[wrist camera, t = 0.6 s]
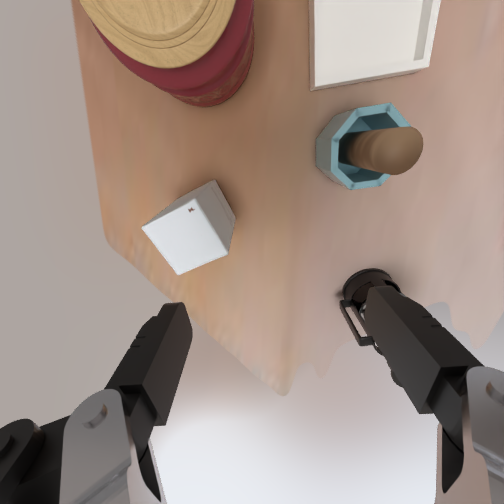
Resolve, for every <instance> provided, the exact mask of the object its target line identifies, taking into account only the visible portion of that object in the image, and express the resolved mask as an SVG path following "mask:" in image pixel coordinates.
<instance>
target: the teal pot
mask: <svg viewBox="0 0 504 504" xmlns="http://www.w3.org/2000/svg"><path fill="white" fill-rule="evenodd" d="M397 127H411V125H410V124H409V123H408V122H407V121H406V120H405V118H404V117H403V116H402V115H401V114H400V113H399V112H398V110H397V109H396V108H395V107H394V106H393V105H392V103H386V104H380V105H374V106H368V107H362V108H356V109H353V110H350V111H347V112H344V113H341V114H338V115H335V116H334V117H333V118H332V119H331V121H330V122H329V123H328V124H327V126H326V127H325V128H324V129H323V131H322V132H321V133H320V135H319V136H318V137H317V138H316V167H318V168H319V169H320V170H321V171H322V172H323V173H324V174H325V175H326V176H328V177H329V178H330V179H331V180H332V181H333V182H336V183H338V184H340V185H342V186H344V187H346V188H348V189H350V190H354V189H361V188H368V187H375V186H381V185H382V184H383V183H384V182H385V181H386V180H387V179H388V178H389V177H390V176H391V175H389V174H384V173H380V172H376V171H372V170H368V169H363V168H359V167H355V166H351V165H347V164H342V163H340V162H338V148H339V140H340V139H341V137H342V136H343V135H344V134H346V133H349V132H359V131H368V130H378V129H387V128H397Z"/></svg>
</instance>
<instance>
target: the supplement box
mask: <svg viewBox="0 0 504 504" xmlns="http://www.w3.org/2000/svg"><path fill="white" fill-rule="evenodd" d="M235 220H236V217H235V216H234V214H233V212H232V210H231V208H230V206H229V204H228V202H227V201H226V199H225V197H224V195H223V193H222V191H221V190H220V188H219V186H218V184H217V182H216V180H215V179H214V180H212V181H210V182H208V183H206V184H204V185H202V186H200V187H198V188H196V189H194V190H192V191H191V192H189V193H187V194H185V195H183V196H181V197H179V198H178V199H176V200H175V201H174V202H173V203H171V204H170V205H169V206H168V207H166V208H165V209H164V210H162V211H161V212H160V213H159V214H157V215H156V216H155V217H153V218H152V219H151V220H150V221H148V222H147V223H146V224H145V225H143V226H142V229H143V231H144V232H145V233H146V234H147V236H148V237H149V238H150V240H151V241H152V242H153V243H154V245H155V246H156V247H157V249H158V250H159V251H160V253H161V254H162V255H163V257H164V258H165V259H166V260H167V262H168V263H169V264H170V266H171V267H172V268H173V270H174V271H175V272H176V274H177V275H180V274H182V273H185V272H187V271H189V270H192V269H194V268H196V267H198V266H201V265H203V264H206V263H208V262H211V261H213V260H216V259H218V258H221V257H223V256H226V255H228V253H229V248H230V243H231V238H232V234H233V229H234V224H235Z"/></svg>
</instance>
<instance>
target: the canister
mask: <svg viewBox="0 0 504 504" xmlns="http://www.w3.org/2000/svg"><path fill="white" fill-rule="evenodd" d="M79 1H80V2H81V4H82V6H83V8H84V9H85V11H86V12H87V14H88V15H89V17H90V19H91V21H92V23H93V25H94V27H95V29H96V30H97V32H98V34H99V35H100V37H101V38H102V40H103V41H104V43H105V44H106V45H107V47H108V48H109V49H110V51H111V52H112V53H113V54H114V55H115V56H116V57H117V59H118V60H119V61H120V62H121V63H122V64H124V65H125V66H126V67H127V68H128V69H129V70H130V71H132V72H133V73H134V74H136V75H137V76H139V77H141V78H142V79H144V80H146V81H148V82H150V83H152V84H153V85H155V86H156V87H158V88H159V89H161V90H163V91H166V92H168V93H170V94H171V95H172V96H174V97H175V98H177V99H179V100H181V101H183V102H185V103H187V104H190V105H194V106H200V107H206V106H213V105H217V104H219V103H221V102H223V101H225V100H227V99H228V98H230V97H231V96H232V95H233V94H234V93H235V92H236V91H237V90H238V89H239V87H240V86H241V84H242V83H243V81H244V79H245V77H246V75H247V73H248V71H249V68H250V64H251V61H252V56H253V49H254V23H253V16H254V0H79Z"/></svg>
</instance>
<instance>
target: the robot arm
mask: <svg viewBox="0 0 504 504" xmlns="http://www.w3.org/2000/svg"><path fill="white" fill-rule="evenodd" d="M364 319H365V324H366V327H367V329H368V331H369V332H370V334H371V336H372V337H373V339H374V341H375V342H376V344H377V346H378V347H379V349H380V351H381V352H382V354H383V355H384V357H385V359H386V360H387V362H388V364H389V365H390V367H391V369H392V370H393V372H394V373H395V375H396V377H397V378H398V380H399V382H400V383H401V385H402V387H403V388H404V390H405V391H406V393H407V395H408V396H409V398H410V400H411V401H412V403H413V404H414V406H415V408H416V410H417V411H418V413H419V414H432V413H434V414H435V416H436V418H437V419H438V421H439V424H438V429H437V430H438V431H437V474H436V498H435V503H434V504H504V372H502V371H500V370H497V369H494V368H490V367H485V366H484V365H483V364H481V363H480V362H479V361H478V360H477V359H476V358H475V357H474V356H473V355H472V354H471V353H470V352H469V351H468V350H467V349H466V348H465V347H464V346H463V345H462V344H461V343H460V342H459V341H458V340H457V339H456V338H455V337H453V335H452V334H450V332H448V331H447V330H446V329H445V328H444V327H442V326H441V324H440V323H439V322H438V321H437V320H436V319H435V318H433V317H432V315H431V314H430V313H429V312H428V311H427V310H426V309H425V308H424V307H423V306H422V305H420V304H418V303H417V302H415V301H413V300H412V299H410V298H408V297H402V296H401V295H400V294H399V292H398V291H397V290H396V289H395V288H394V287H392V286H378V287H370V288H369V291H368V296H367V302H366V307H365V313H364ZM191 341H192V326H191V323H190V320H189V317H188V314H187V311H186V308H185V305H184V303H183V302H178V303H166V304H164V305H163V306H162V308H161V310H160V312H159V313H158V315H157V316H153V317H152V318H150V320H148V321H147V322H146V323H145V324H144V325H143V326H142V328H141V329H140V331H139V332H138V334H137V336H136V339H134V341H133V342H132V344H131V346H130V349H128V351H127V352H126V354H125V356H124V357H123V359H122V361H121V362H120V364H119V366H118V367H117V369H116V371H115V372H114V374H113V376H112V377H111V379H110V380H109V382H108V384H107V385H106V387H105V388H104V390H101V391H99V392H97V393H95V394H93V395H91V396H90V397H88V398H87V399H86V400H84V401H83V402H82V403H81V404H80V405H79V406H78V407H77V408H76V409H75V411H74V412H73V413H72V414H71V415H70V416H67V417H64V418H62V419H59V420H56V421H54V422H51V423H49V424H46V425H43V426H41V427H38V426H37V425H36V424H35V423H34V422H33V421H31V420H30V419H20V420H17V421H14V422H11V423H9V424H7V425H6V426H4V427H2V428H1V429H0V504H167V503H166V499H165V495H164V491H163V487H162V483H161V480H160V475H159V472H158V468H157V464H156V460H155V456H154V452H153V448H152V444H151V441H150V435H151V432H152V430H153V427H154V426H164V425H166V422H167V418H168V416H169V412H170V409H171V406H172V403H173V400H174V396H175V393H176V390H177V387H178V384H179V380H180V377H181V374H182V370H183V367H184V364H185V361H186V358H187V355H188V351H189V348H190V345H191Z"/></svg>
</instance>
